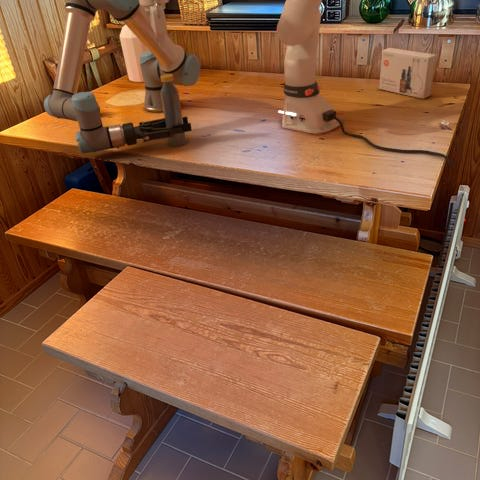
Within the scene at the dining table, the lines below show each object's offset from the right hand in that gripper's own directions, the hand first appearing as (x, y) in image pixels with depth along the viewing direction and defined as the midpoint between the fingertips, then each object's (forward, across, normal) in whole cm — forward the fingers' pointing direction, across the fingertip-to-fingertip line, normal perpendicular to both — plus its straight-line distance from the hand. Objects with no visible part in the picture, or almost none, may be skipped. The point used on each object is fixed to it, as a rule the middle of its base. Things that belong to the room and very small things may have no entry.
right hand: (161, 45), depth 147 cm
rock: (+33, +47, +32) cm, 66 cm away
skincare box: (+33, +11, -95) cm, 101 cm away
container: (+33, +97, +3) cm, 102 cm away
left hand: (+27, 0, -5) cm, 27 cm away
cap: (+10, 0, 0) cm, 10 cm away
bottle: (+33, 0, 0) cm, 33 cm away
